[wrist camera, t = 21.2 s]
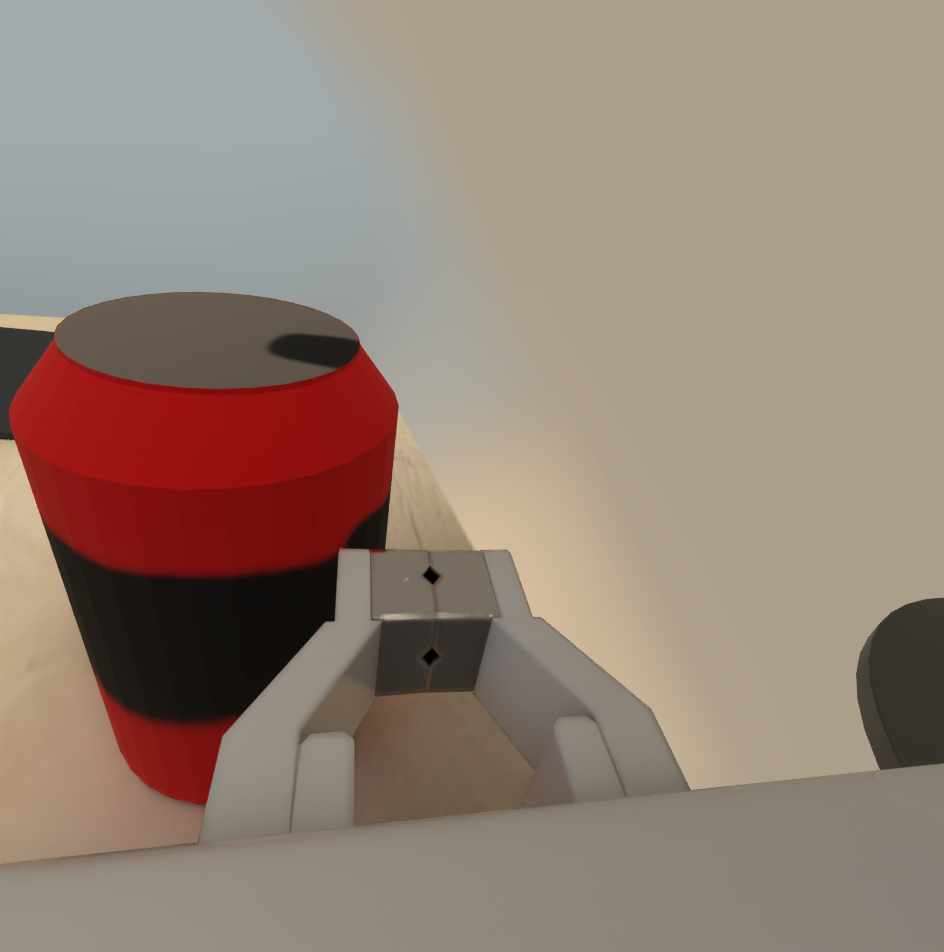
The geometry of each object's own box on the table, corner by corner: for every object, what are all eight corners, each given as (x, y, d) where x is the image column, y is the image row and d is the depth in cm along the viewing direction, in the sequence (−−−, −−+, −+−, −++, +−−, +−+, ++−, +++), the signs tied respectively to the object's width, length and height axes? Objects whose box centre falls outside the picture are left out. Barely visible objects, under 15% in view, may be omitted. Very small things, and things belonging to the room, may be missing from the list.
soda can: (341, 829, 14) (364, 447, 8) (55, 794, 14) (-156, 365, 8) (389, 618, 21) (423, 313, 14) (193, 590, 20) (140, 265, 14)
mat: (277, 356, 40) (276, 351, 40) (242, 450, 29) (242, 444, 29) (-107, 323, 35) (-110, 317, 35) (-336, 422, 24) (-342, 414, 23)
